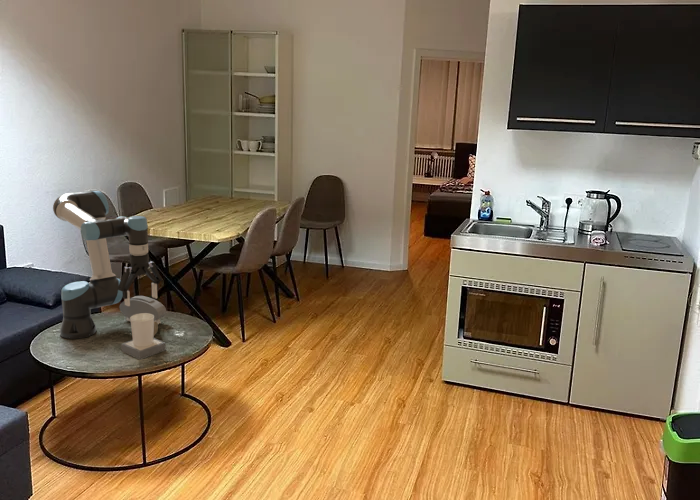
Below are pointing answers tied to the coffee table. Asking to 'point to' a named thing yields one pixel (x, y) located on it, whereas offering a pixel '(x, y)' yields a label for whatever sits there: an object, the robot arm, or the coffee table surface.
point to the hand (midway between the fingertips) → (141, 301)
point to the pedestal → (143, 349)
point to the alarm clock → (143, 308)
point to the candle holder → (142, 329)
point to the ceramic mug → (155, 327)
